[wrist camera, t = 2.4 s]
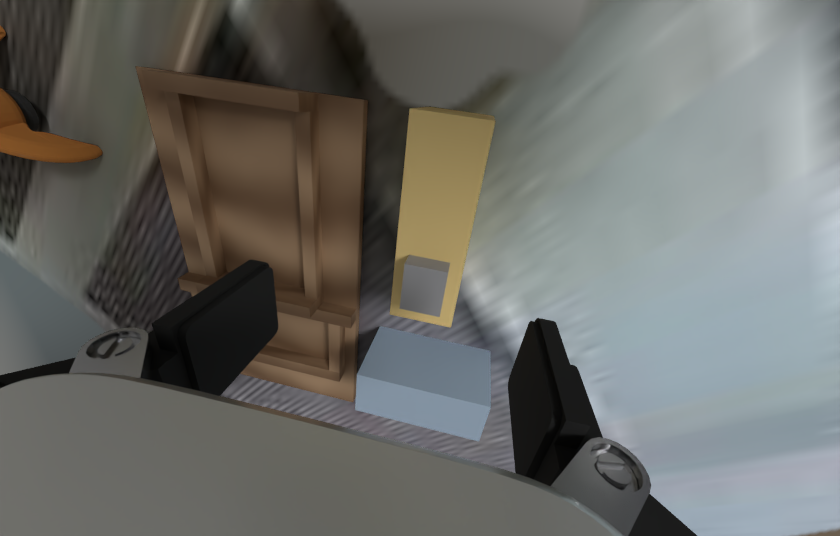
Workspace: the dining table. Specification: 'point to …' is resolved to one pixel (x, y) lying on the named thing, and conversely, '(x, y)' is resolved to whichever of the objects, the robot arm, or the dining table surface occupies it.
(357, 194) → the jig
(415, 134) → the block
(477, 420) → the plank
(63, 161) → the toy rocket
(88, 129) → the dining table surface
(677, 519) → the robot arm
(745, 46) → the dining table surface
